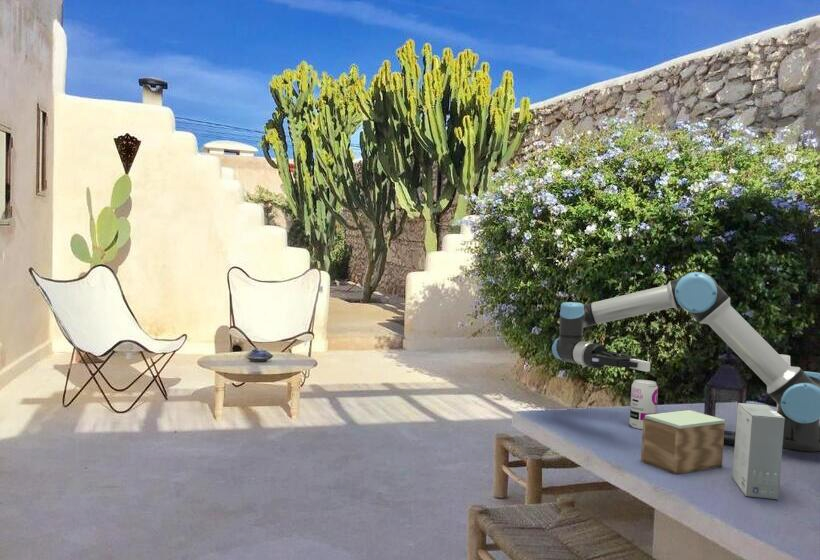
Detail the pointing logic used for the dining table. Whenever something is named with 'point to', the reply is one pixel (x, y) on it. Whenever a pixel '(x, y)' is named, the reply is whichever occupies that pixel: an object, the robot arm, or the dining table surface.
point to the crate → (682, 447)
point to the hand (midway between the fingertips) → (648, 366)
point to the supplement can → (642, 401)
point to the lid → (685, 419)
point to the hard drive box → (758, 450)
